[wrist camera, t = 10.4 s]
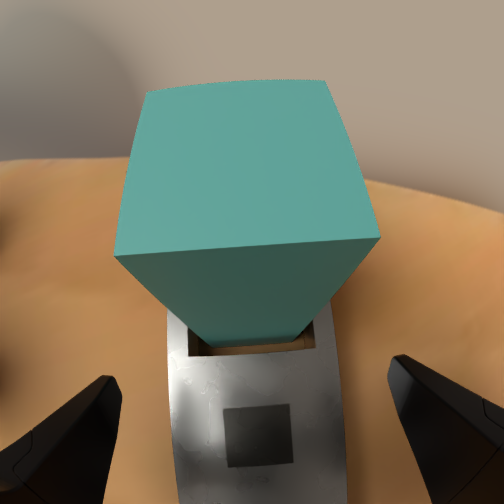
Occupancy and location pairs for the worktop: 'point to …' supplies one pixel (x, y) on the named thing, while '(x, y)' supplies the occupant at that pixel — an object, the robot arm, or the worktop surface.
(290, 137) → the teal peg
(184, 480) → the grey peg board
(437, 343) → the worktop surface
